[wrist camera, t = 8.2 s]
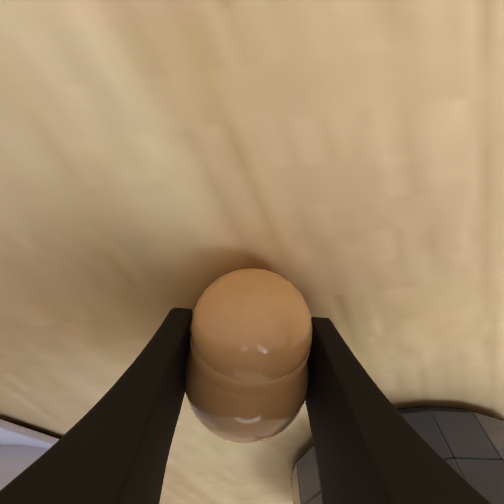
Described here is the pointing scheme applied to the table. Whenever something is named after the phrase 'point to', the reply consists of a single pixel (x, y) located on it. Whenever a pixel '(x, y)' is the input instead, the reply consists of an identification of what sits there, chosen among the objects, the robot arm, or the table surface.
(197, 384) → the tan double sphere
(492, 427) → the basin
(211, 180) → the table surface
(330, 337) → the robot arm
